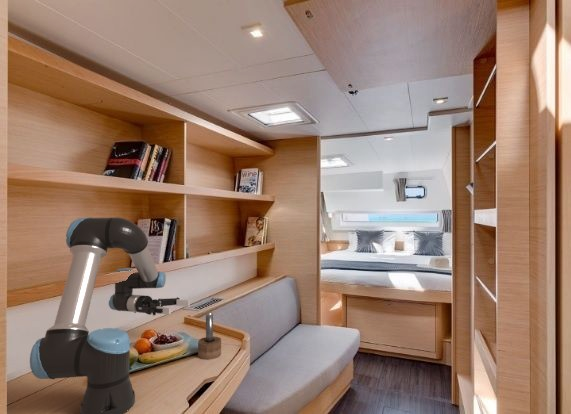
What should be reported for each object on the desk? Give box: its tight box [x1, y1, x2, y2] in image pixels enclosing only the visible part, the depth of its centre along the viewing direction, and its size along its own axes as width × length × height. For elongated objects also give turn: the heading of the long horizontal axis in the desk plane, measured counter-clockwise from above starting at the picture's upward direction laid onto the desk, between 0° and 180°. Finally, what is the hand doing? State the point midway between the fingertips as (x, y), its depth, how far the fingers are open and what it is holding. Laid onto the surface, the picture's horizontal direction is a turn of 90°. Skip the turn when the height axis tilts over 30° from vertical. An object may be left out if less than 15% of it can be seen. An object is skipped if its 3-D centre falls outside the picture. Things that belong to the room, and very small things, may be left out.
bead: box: [197, 335, 222, 361], centre depth 139 cm, size 10×10×6 cm
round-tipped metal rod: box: [205, 310, 214, 343], centre depth 139 cm, size 3×3×18 cm
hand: (180, 307), depth 141 cm, fingers open, 13 cm apart
